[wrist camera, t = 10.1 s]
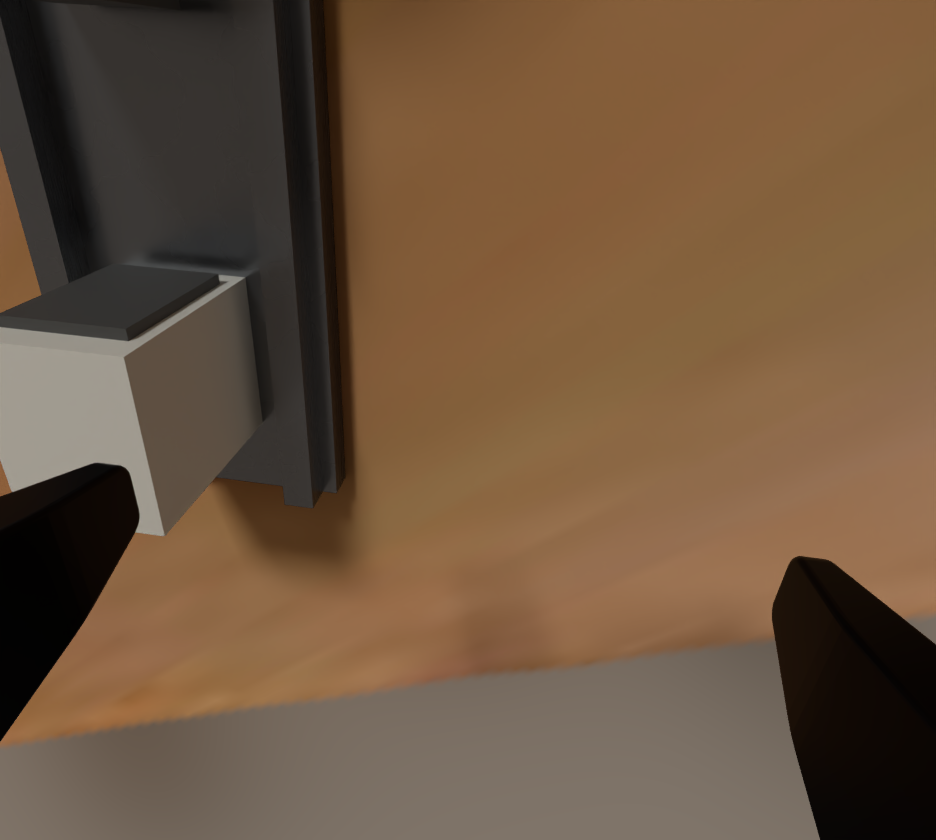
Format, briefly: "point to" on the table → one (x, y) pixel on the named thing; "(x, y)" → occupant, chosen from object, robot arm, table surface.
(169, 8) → the block
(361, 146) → the table surface
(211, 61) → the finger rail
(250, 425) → the block
